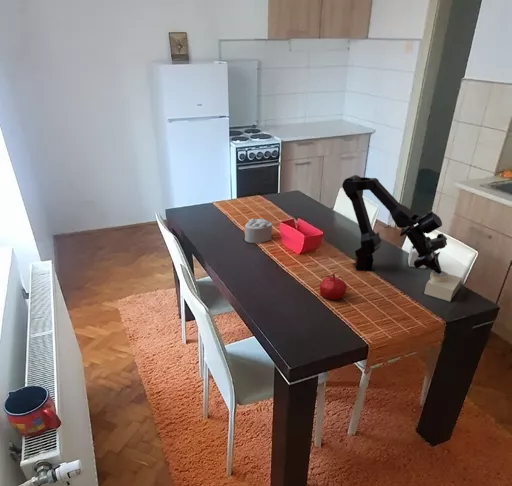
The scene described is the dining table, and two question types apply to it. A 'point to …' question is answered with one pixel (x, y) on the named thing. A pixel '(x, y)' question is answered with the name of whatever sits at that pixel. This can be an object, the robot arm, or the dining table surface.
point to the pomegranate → (332, 287)
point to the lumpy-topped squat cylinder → (258, 231)
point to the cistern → (442, 286)
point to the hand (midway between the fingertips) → (440, 273)
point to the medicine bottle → (413, 258)
